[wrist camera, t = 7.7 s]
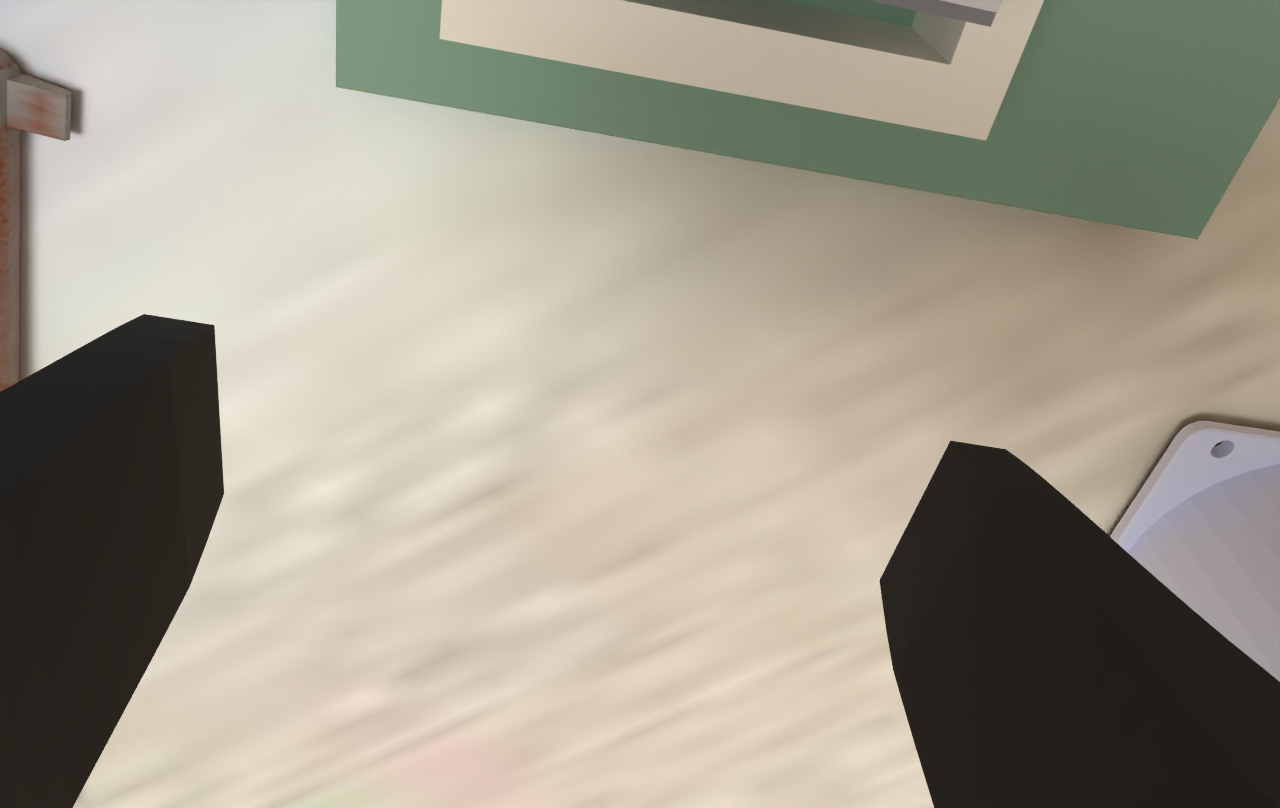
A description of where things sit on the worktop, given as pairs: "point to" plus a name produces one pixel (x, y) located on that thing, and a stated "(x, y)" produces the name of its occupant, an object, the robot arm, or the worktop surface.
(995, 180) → the board
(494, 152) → the worktop surface
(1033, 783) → the robot arm
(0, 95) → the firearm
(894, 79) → the socket
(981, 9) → the plug
